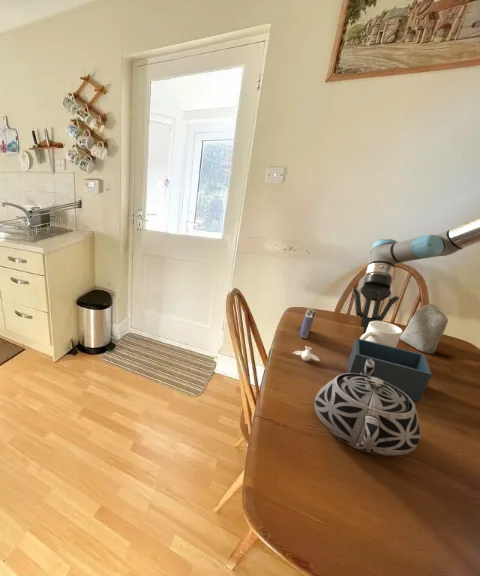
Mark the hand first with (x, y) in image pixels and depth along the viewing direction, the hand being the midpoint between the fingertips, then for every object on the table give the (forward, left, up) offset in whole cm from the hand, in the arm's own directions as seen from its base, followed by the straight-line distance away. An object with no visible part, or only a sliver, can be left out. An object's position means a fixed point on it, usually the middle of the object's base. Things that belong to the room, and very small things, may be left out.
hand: (365, 335), depth 109 cm
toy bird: (+15, +22, -4) cm, 27 cm away
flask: (+17, +3, -4) cm, 18 cm away
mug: (-2, +5, -4) cm, 7 cm away
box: (-4, +21, -4) cm, 22 cm away
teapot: (+1, +48, -4) cm, 49 cm away
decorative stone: (-15, -11, -4) cm, 19 cm away
